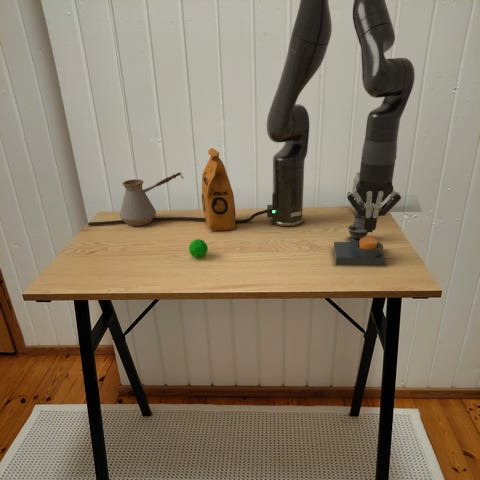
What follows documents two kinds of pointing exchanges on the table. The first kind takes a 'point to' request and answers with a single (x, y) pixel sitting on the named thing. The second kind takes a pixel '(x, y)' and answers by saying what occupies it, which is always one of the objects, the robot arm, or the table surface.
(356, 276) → the table surface
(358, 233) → the salt shaker
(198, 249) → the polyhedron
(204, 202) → the coffee package
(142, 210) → the coffee pot
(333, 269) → the table surface
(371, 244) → the button
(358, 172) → the can
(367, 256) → the button box
